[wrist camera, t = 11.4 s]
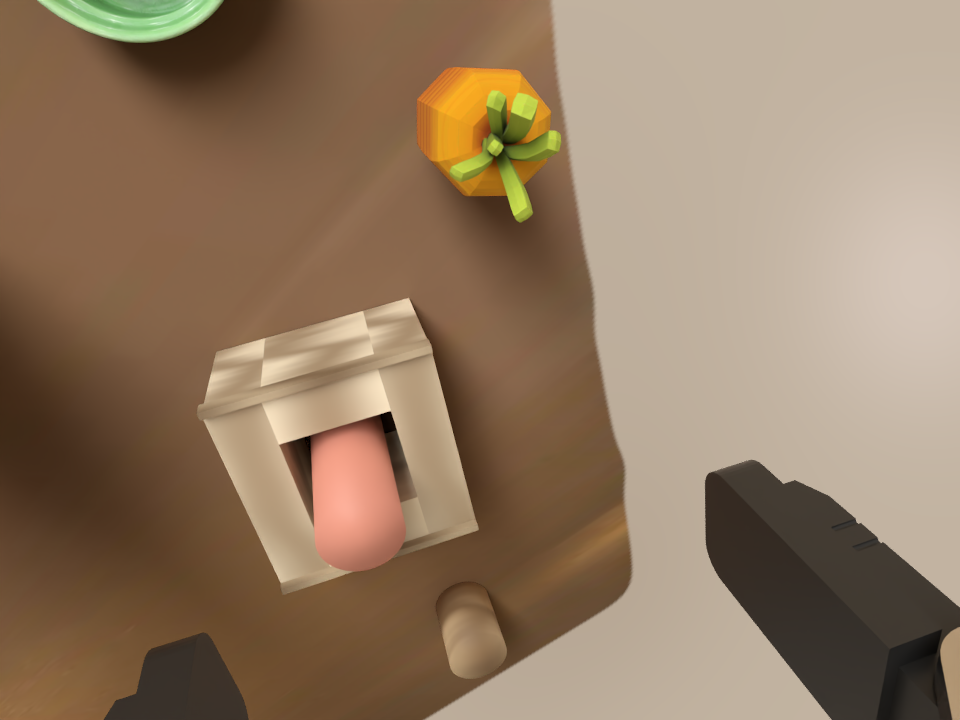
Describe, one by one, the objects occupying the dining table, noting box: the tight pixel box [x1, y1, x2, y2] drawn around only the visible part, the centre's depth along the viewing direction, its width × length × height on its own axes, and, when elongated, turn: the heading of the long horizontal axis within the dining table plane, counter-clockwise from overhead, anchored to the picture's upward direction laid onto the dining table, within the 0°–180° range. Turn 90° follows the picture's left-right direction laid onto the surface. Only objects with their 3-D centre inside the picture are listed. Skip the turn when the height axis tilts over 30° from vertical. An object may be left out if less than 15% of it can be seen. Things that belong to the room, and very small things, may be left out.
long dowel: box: [310, 414, 406, 571], centre depth 35 cm, size 4×4×12 cm
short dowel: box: [436, 582, 507, 679], centre depth 47 cm, size 4×4×5 cm
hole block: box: [196, 298, 479, 595], centre depth 37 cm, size 11×12×8 cm
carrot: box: [417, 67, 561, 223], centre depth 28 cm, size 5×5×15 cm
